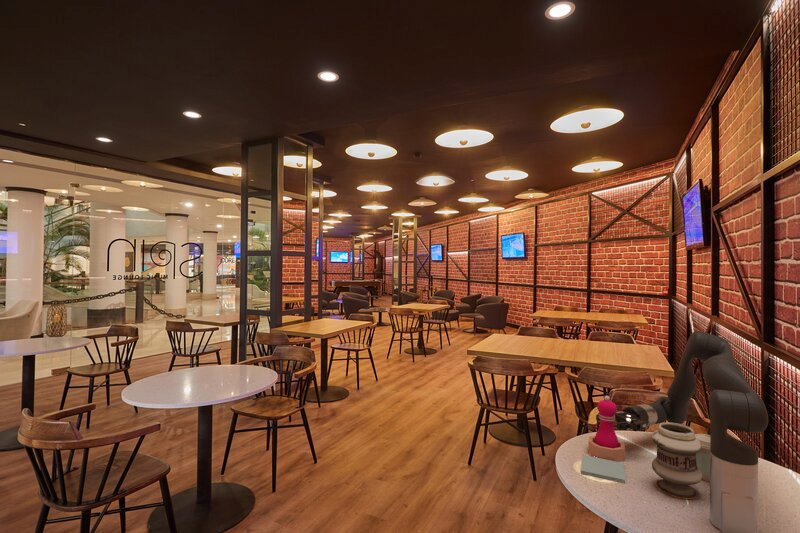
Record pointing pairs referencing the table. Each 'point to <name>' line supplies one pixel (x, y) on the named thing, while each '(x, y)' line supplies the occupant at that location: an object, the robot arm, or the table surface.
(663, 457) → the apothecary jar
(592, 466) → the board
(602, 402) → the pepper mill
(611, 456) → the holder ring
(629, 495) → the table surface
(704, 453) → the coffee cup
